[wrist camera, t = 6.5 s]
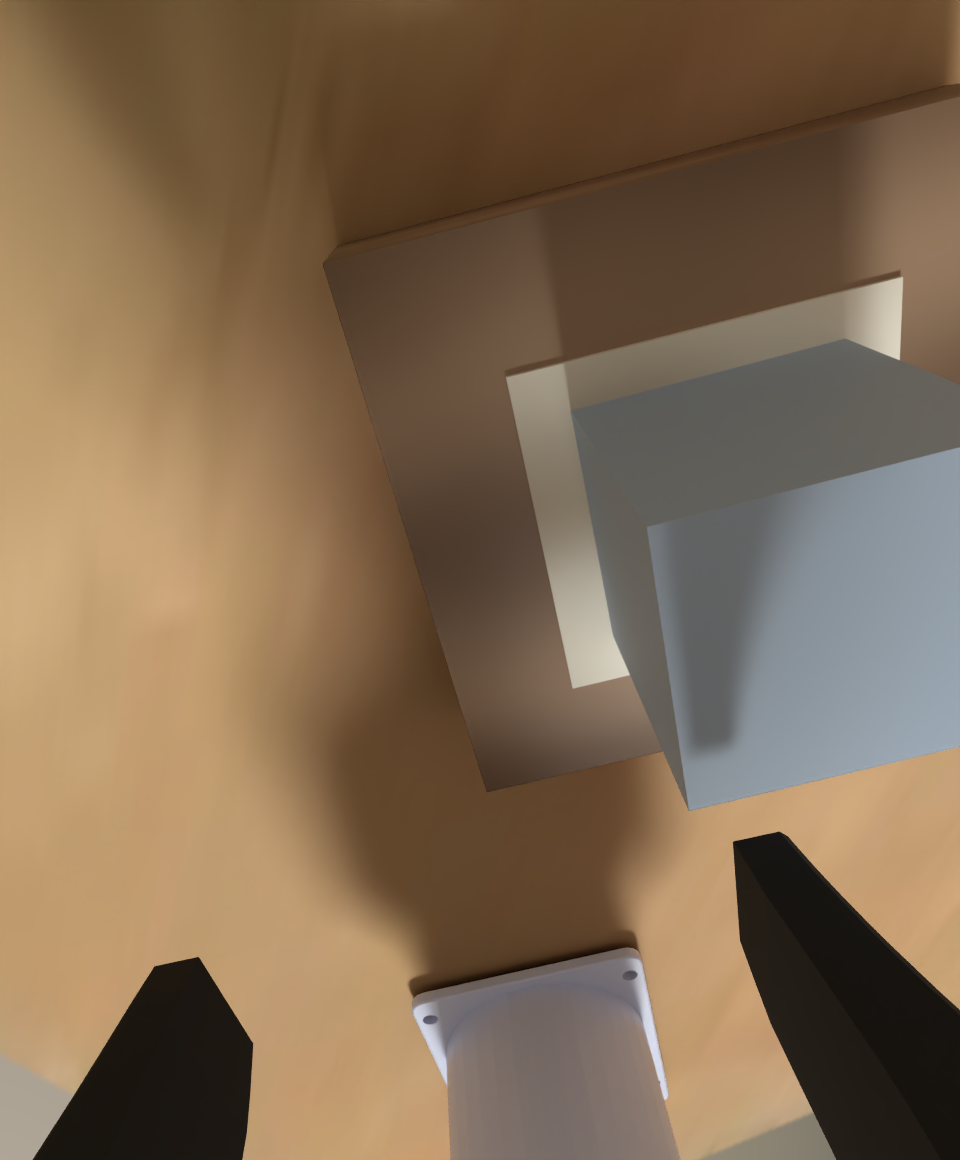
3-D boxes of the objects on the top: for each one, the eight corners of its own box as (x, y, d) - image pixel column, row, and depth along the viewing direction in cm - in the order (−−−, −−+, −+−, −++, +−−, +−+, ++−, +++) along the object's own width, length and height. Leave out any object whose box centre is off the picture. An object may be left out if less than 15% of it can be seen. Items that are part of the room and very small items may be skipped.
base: (914, 608, 20) (993, 677, 18) (476, 712, 21) (487, 795, 18) (946, 85, 14) (1070, 67, 12) (337, 245, 15) (322, 264, 12)
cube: (846, 577, 16) (1012, 734, 12) (612, 635, 16) (688, 810, 12) (845, 338, 14) (1055, 422, 9) (570, 411, 14) (647, 526, 9)
